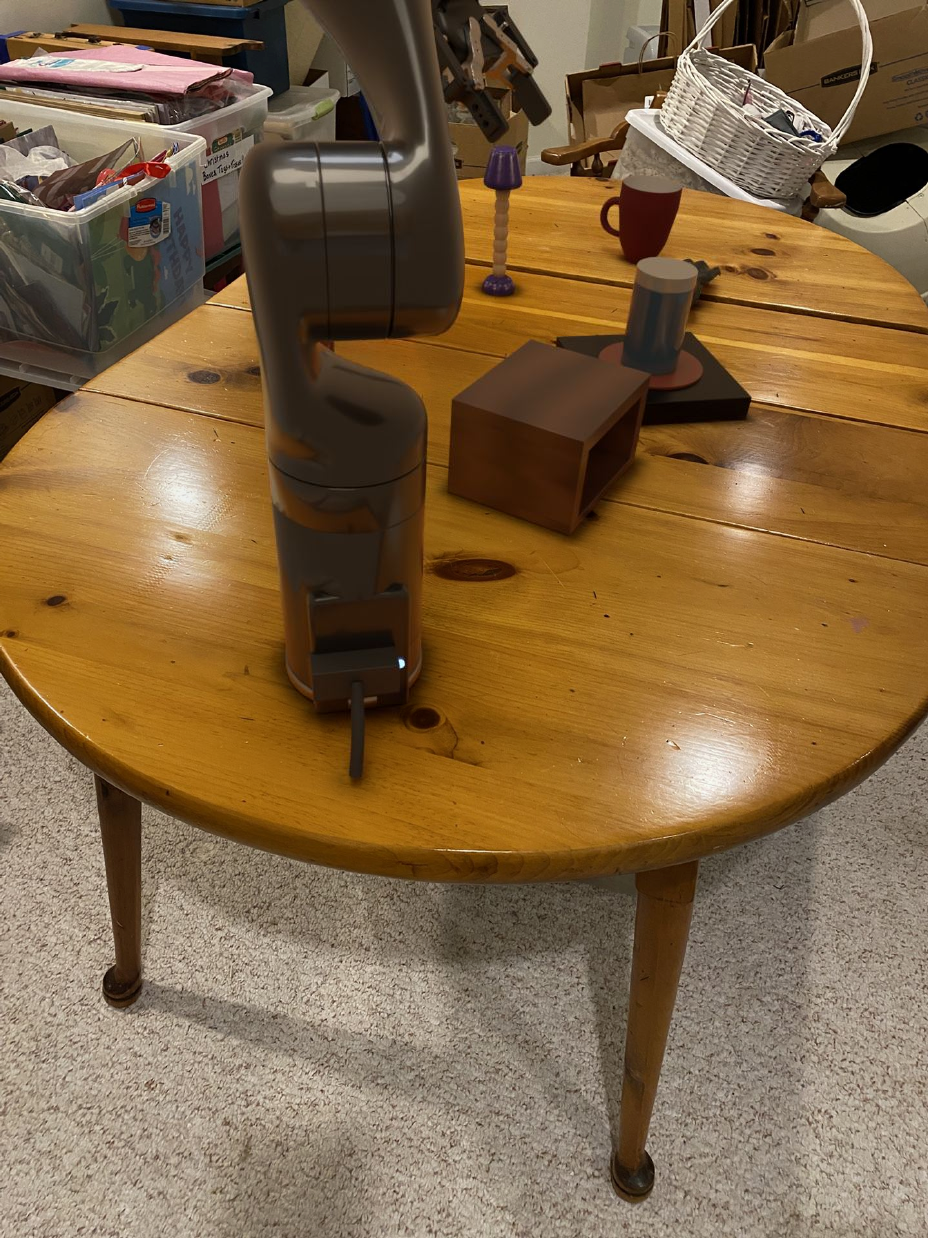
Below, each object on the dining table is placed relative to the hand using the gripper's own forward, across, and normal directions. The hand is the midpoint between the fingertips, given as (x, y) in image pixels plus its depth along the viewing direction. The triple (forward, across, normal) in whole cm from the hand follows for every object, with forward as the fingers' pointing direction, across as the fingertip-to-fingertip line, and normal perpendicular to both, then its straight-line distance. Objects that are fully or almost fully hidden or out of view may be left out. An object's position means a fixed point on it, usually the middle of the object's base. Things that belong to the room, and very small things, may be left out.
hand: (523, 127), depth 84 cm
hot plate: (+27, +6, +7) cm, 29 cm away
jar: (+25, +6, +5) cm, 26 cm away
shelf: (+26, -16, +8) cm, 32 cm away
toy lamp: (+8, +20, +26) cm, 34 cm away
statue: (+24, +32, +10) cm, 41 cm away
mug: (+15, +43, +19) cm, 49 cm away
